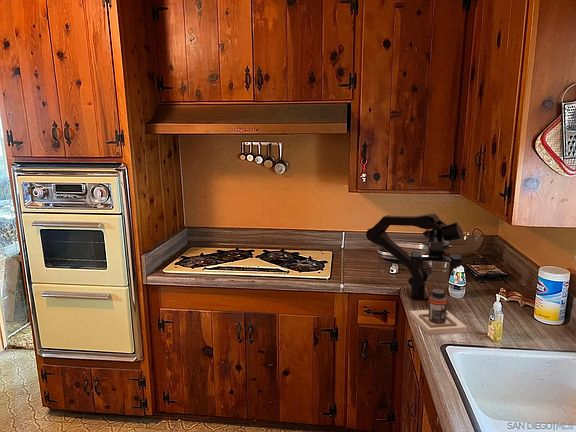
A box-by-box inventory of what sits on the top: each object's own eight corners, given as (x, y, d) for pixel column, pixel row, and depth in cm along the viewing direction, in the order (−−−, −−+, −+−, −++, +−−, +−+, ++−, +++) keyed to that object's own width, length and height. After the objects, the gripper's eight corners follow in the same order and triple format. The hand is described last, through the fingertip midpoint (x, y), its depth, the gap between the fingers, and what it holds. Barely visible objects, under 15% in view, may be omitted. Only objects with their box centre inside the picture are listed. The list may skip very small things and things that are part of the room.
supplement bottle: (432, 316, 157) (433, 286, 155) (448, 320, 154) (450, 290, 152) (425, 321, 153) (426, 291, 151) (442, 326, 149) (443, 295, 147)
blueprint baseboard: (409, 315, 163) (409, 308, 162) (444, 313, 164) (445, 306, 164) (428, 335, 147) (428, 326, 146) (466, 332, 149) (467, 324, 148)
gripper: (411, 231, 167) (411, 267, 159) (463, 233, 163) (465, 270, 154) (410, 246, 176) (409, 280, 168) (459, 248, 171) (461, 284, 163)
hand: (435, 278), depth 163 cm, fingers open, 9 cm apart
